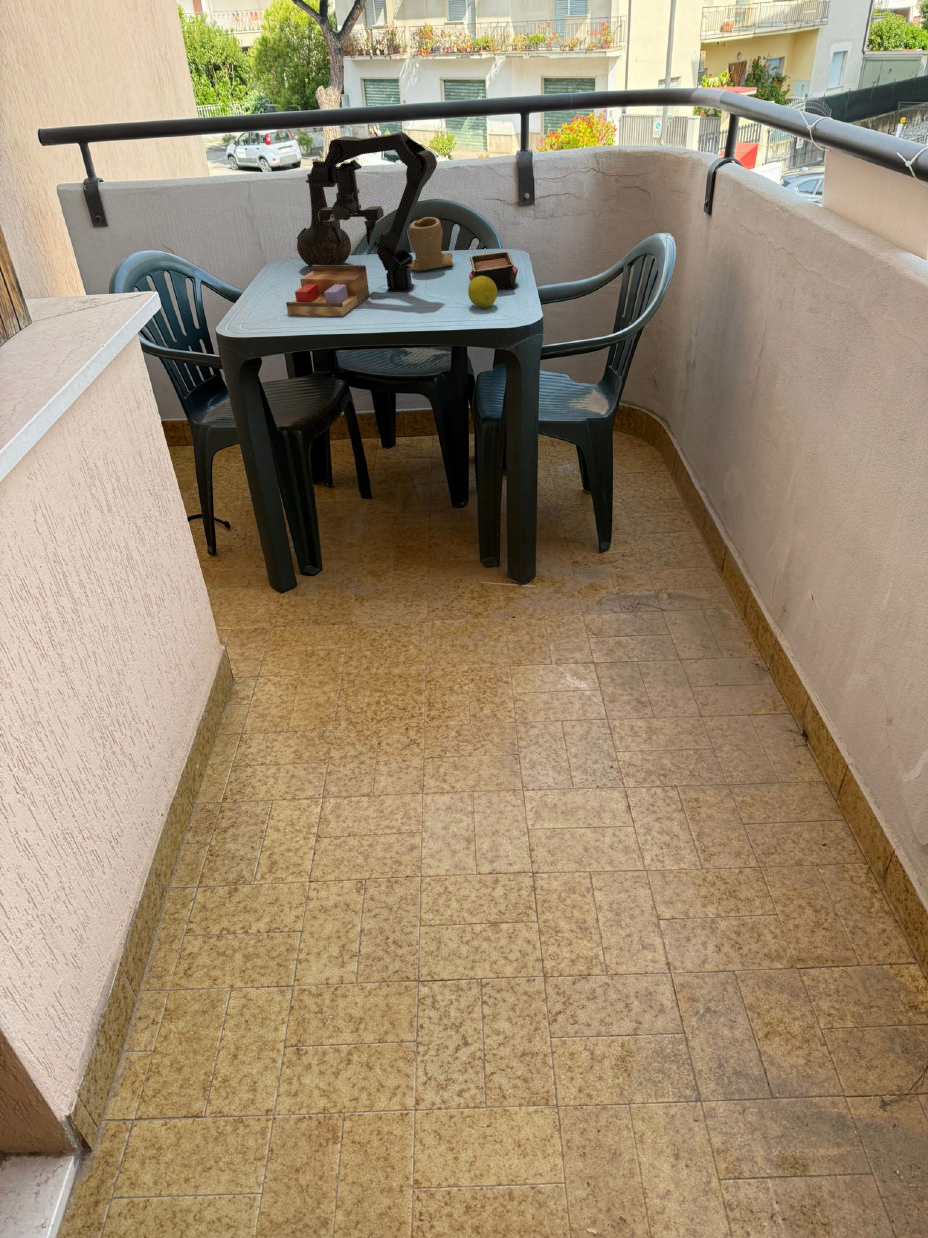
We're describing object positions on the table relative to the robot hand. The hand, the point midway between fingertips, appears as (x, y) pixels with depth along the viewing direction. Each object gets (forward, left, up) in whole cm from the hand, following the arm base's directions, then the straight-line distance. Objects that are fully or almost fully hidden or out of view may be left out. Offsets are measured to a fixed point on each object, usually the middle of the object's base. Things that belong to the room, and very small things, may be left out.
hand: (354, 244), depth 251 cm
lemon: (-44, +18, -12) cm, 49 cm away
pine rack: (+2, +19, -12) cm, 23 cm away
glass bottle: (+21, -23, -12) cm, 34 cm away
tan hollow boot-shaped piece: (-17, -21, -12) cm, 30 cm away
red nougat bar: (+7, +23, -10) cm, 26 cm away
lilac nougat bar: (-2, +23, -10) cm, 25 cm away
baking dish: (-42, -3, -12) cm, 44 cm away
